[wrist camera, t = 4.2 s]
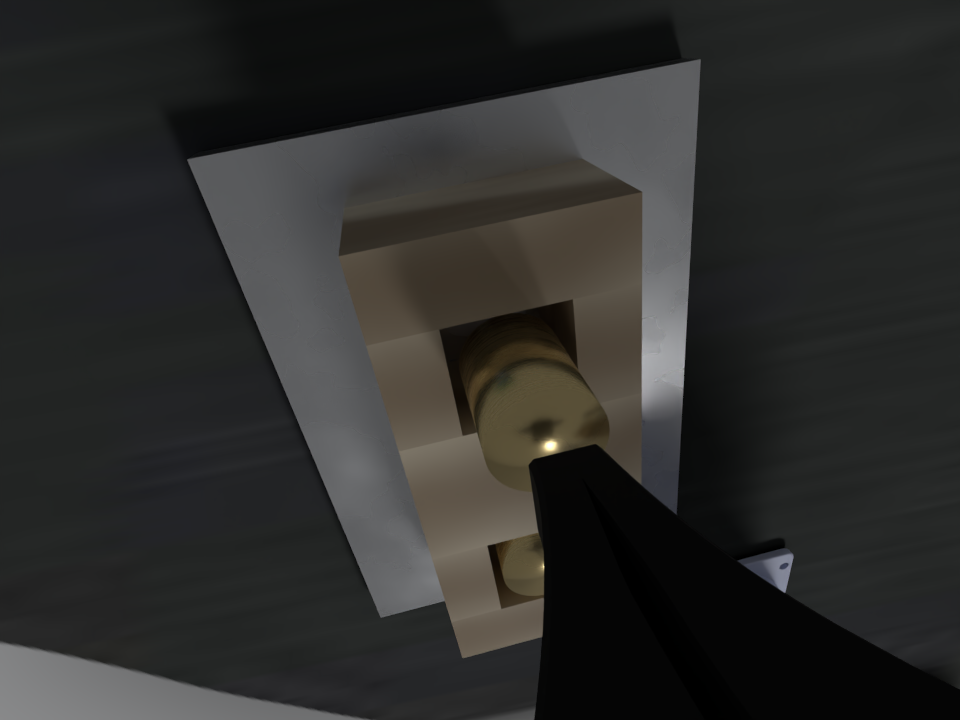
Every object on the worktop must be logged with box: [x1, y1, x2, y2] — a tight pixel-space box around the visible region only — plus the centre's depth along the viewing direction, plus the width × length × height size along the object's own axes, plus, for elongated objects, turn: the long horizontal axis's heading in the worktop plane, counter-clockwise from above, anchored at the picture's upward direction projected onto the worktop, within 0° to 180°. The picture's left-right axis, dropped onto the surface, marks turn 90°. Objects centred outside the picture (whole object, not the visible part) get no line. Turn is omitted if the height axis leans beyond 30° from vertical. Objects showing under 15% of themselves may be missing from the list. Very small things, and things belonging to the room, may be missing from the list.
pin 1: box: [459, 313, 610, 492], centre depth 13 cm, size 3×3×4 cm
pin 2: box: [495, 533, 544, 596], centre depth 20 cm, size 3×3×4 cm
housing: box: [338, 159, 642, 658], centre depth 18 cm, size 16×7×4 cm, turn 9°
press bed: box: [187, 58, 701, 617], centre depth 20 cm, size 20×14×1 cm
